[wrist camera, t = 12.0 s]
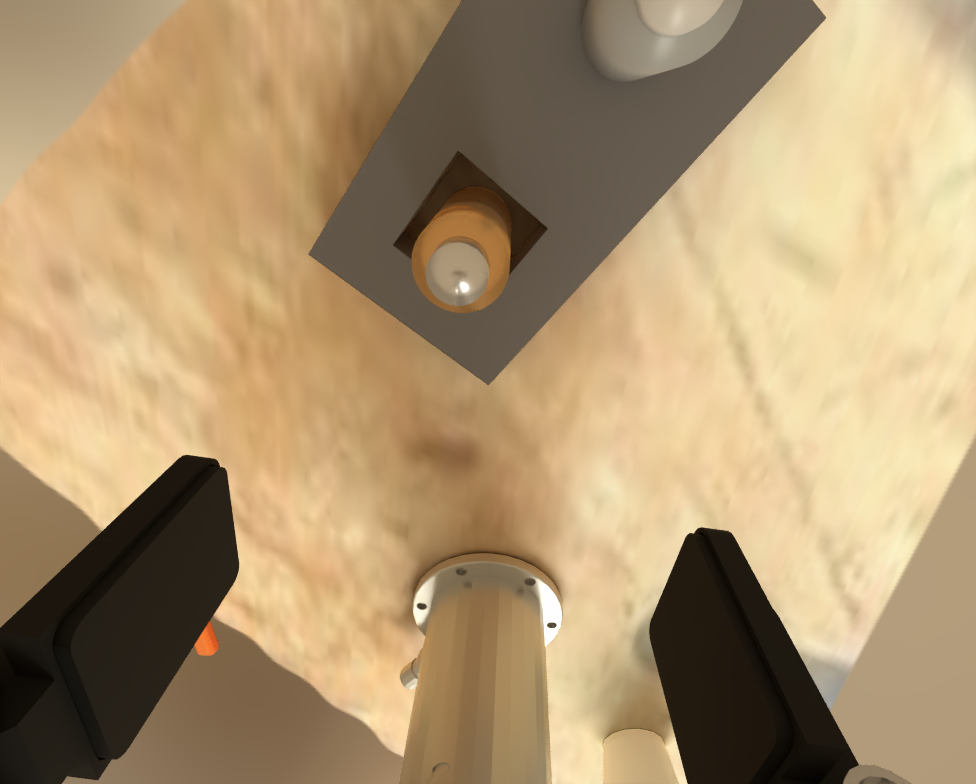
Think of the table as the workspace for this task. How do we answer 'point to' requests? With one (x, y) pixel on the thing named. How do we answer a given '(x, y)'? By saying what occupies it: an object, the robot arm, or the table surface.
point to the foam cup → (636, 759)
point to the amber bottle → (465, 252)
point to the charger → (552, 143)
